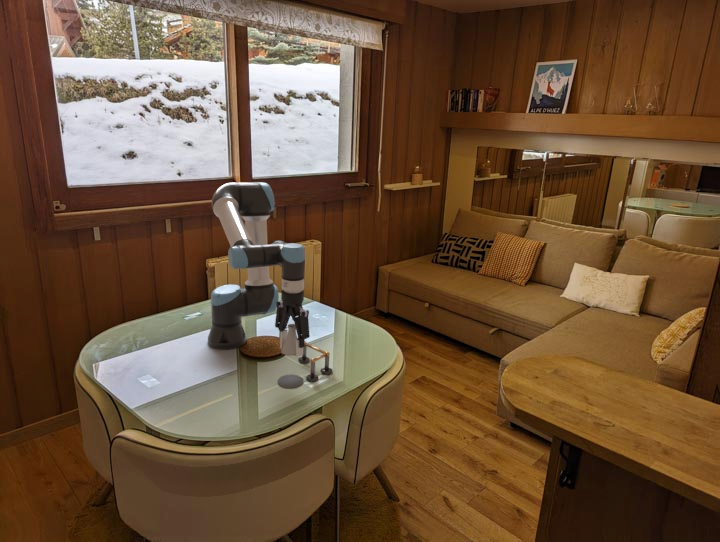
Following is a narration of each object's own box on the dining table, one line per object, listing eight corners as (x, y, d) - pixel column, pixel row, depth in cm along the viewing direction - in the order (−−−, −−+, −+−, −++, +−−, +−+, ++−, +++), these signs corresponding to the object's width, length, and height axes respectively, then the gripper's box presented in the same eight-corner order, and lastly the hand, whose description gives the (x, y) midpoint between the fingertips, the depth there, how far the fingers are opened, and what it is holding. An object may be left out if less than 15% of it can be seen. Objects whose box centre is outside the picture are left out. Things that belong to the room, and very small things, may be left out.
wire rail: (281, 367, 186) (281, 347, 183) (304, 357, 195) (304, 338, 192) (312, 383, 176) (312, 362, 174) (334, 371, 185) (335, 351, 182)
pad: (272, 381, 175) (272, 380, 175) (291, 372, 182) (291, 371, 182) (289, 391, 170) (289, 390, 170) (308, 381, 177) (308, 380, 177)
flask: (278, 354, 170) (278, 328, 167) (285, 345, 177) (285, 320, 174) (298, 357, 169) (298, 331, 166) (304, 348, 176) (305, 322, 173)
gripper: (264, 284, 169) (264, 345, 176) (305, 300, 157) (304, 365, 164) (280, 280, 175) (280, 338, 182) (322, 295, 163) (319, 357, 170)
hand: (291, 351), depth 173 cm, fingers closed on flask, 7 cm apart
